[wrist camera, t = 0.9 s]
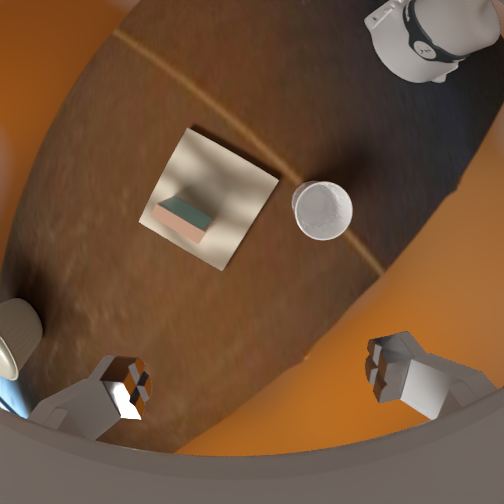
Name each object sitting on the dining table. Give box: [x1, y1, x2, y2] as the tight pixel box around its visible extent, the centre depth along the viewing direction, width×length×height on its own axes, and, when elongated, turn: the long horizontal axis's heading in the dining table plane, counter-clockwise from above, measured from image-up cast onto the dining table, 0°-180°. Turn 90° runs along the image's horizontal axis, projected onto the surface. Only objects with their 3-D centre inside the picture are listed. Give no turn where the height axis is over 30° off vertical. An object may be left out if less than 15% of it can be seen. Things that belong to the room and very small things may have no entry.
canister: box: [0, 298, 43, 380], centre depth 47 cm, size 18×18×21 cm
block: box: [151, 197, 214, 244], centre depth 42 cm, size 2×8×8 cm, turn 59°
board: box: [139, 128, 279, 271], centre depth 46 cm, size 18×17×1 cm
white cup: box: [292, 181, 353, 240], centre depth 41 cm, size 8×8×10 cm
